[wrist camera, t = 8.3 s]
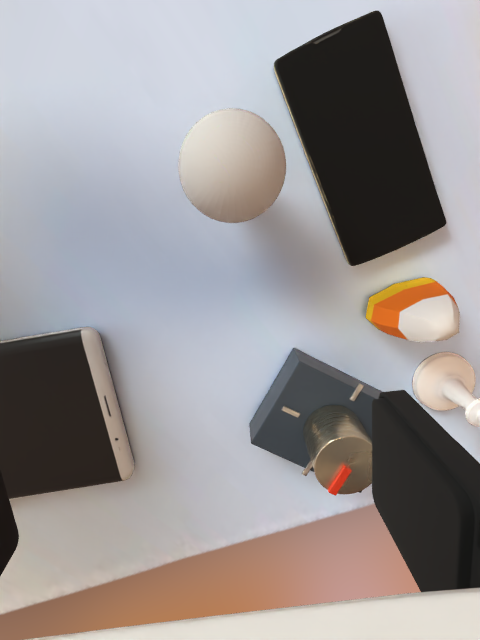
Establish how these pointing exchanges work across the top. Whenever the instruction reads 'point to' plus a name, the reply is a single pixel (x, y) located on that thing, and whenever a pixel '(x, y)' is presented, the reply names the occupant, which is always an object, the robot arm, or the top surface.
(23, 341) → the tablet
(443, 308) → the candy corn
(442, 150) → the top surface
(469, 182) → the top surface
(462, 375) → the chess piece
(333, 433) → the dial knob
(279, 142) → the light bulb
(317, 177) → the smartphone
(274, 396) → the control panel
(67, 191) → the top surface
